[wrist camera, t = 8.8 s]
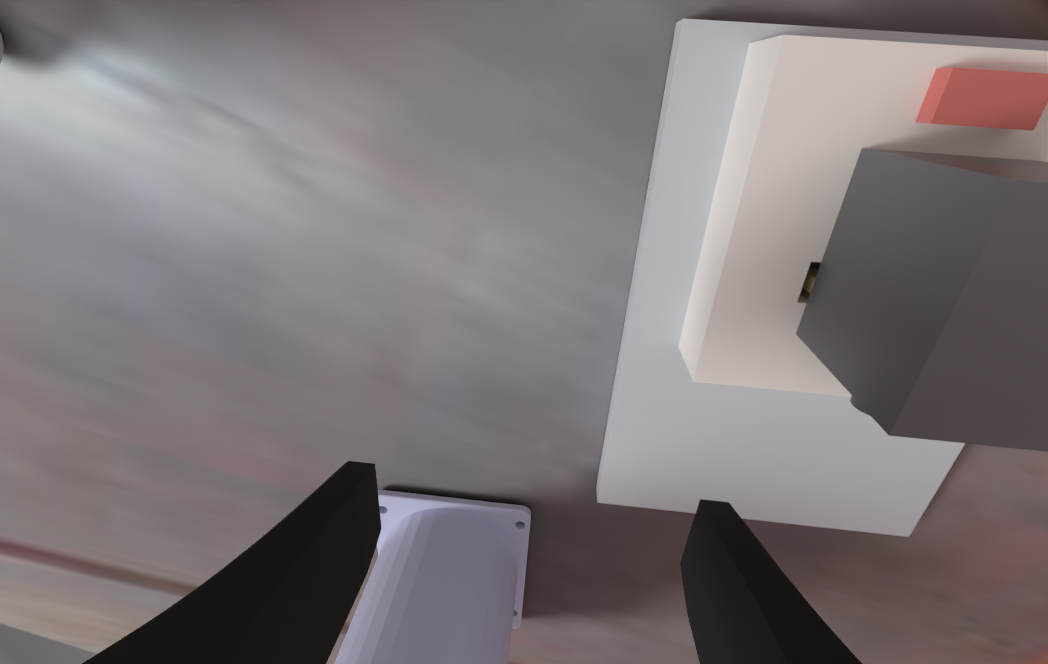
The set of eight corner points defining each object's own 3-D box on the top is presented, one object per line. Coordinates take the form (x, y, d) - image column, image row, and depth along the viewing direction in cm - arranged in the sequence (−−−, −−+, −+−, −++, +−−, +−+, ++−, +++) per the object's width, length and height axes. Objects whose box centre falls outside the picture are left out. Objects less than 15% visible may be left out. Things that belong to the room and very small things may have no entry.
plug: (767, 359, 17) (861, 489, 11) (839, 143, 14) (1018, 180, 8) (899, 371, 17) (1060, 509, 11) (1004, 155, 14) (1301, 201, 8)
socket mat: (895, 519, 23) (908, 537, 22) (596, 486, 23) (597, 502, 22) (1163, 52, 14) (1203, 49, 13) (676, 22, 15) (682, 18, 14)
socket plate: (678, 346, 19) (697, 391, 16) (749, 43, 14) (793, 32, 11) (949, 371, 18) (1018, 423, 15) (1114, 65, 13) (1254, 60, 11)
